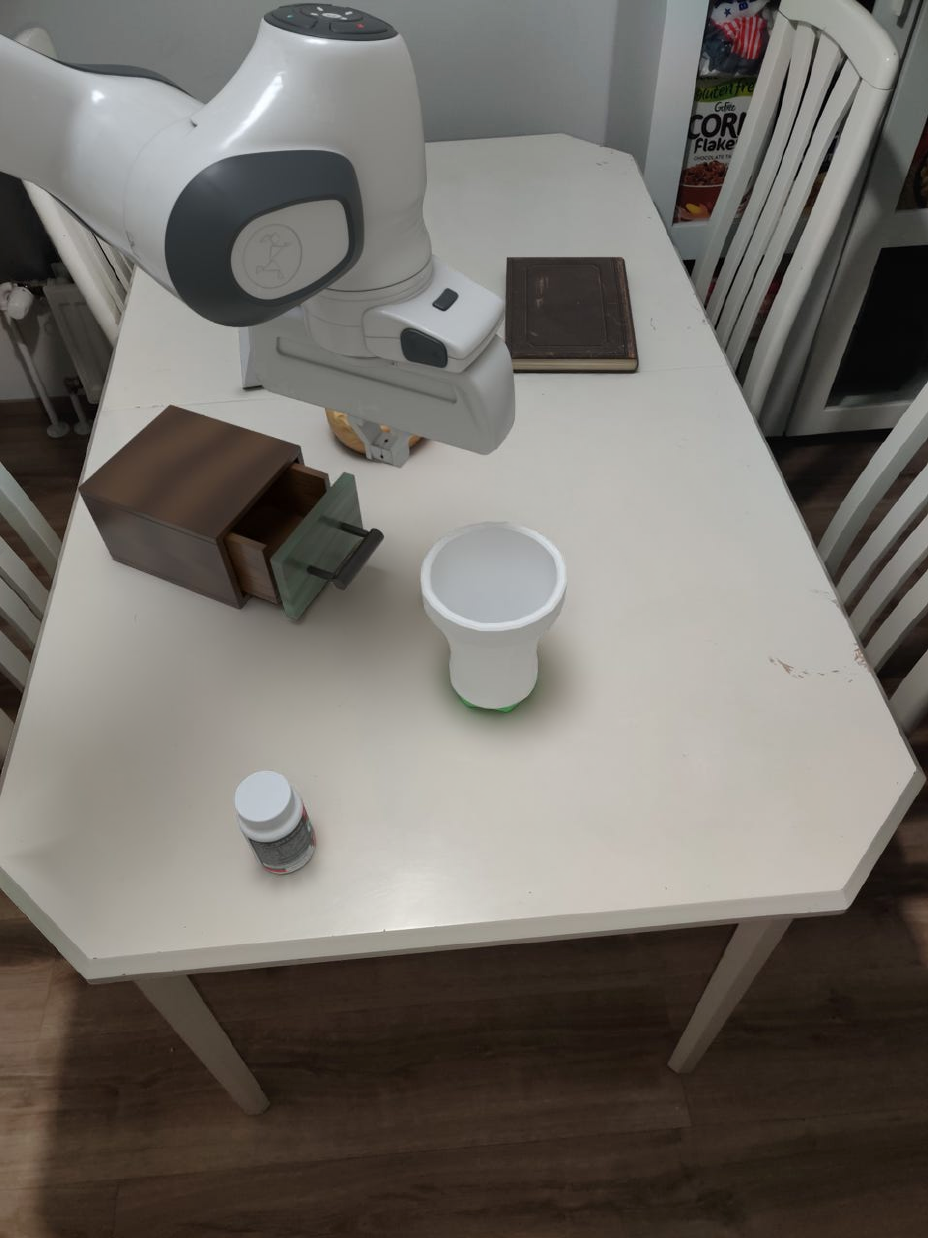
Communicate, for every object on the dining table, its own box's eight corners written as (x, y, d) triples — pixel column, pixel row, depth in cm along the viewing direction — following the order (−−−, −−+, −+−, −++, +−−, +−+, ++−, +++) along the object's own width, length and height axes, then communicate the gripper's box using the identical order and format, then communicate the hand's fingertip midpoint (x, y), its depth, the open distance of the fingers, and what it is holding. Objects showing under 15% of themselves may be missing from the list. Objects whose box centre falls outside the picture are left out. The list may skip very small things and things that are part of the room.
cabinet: (316, 517, 90) (300, 445, 82) (240, 609, 82) (215, 538, 75) (195, 476, 95) (169, 403, 87) (112, 559, 87) (76, 487, 80)
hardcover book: (503, 372, 105) (504, 356, 103) (506, 272, 119) (506, 256, 117) (637, 373, 104) (639, 356, 102) (623, 272, 118) (625, 256, 117)
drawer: (401, 546, 86) (394, 487, 80) (336, 636, 79) (323, 578, 73) (245, 492, 91) (228, 433, 85) (171, 572, 84) (147, 514, 78)
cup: (529, 617, 81) (535, 505, 70) (577, 712, 74) (592, 605, 63) (414, 649, 79) (401, 540, 68) (452, 750, 72) (445, 647, 61)
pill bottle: (328, 844, 67) (311, 792, 61) (281, 888, 65) (257, 839, 59) (289, 806, 69) (268, 753, 63) (242, 847, 67) (215, 797, 61)
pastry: (322, 464, 95) (308, 397, 88) (337, 397, 103) (325, 331, 96) (431, 465, 95) (426, 397, 88) (438, 398, 102) (434, 331, 95)
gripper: (210, 286, 58) (255, 447, 69) (485, 358, 52) (487, 522, 63) (263, 242, 62) (298, 402, 73) (527, 305, 56) (522, 469, 66)
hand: (388, 458), depth 68 cm, fingers closed
